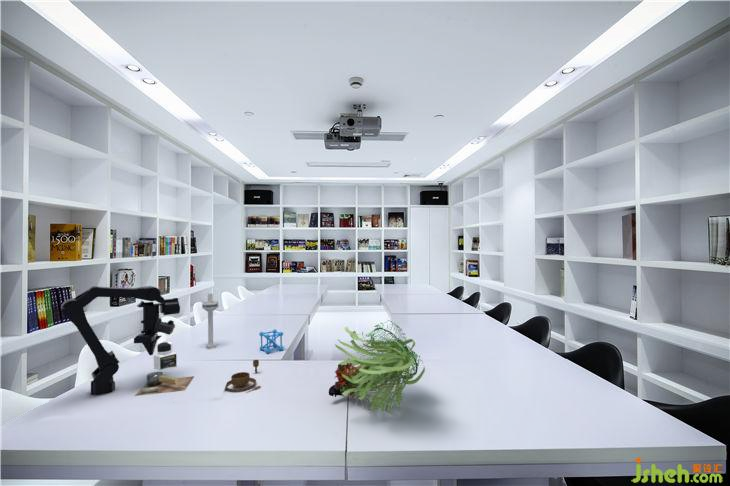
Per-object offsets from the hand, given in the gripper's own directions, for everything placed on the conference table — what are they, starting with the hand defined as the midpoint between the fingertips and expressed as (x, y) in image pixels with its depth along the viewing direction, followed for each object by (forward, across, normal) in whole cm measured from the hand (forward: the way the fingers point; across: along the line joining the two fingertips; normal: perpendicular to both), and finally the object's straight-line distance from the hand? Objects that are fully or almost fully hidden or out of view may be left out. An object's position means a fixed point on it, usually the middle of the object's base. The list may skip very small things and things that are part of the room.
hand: (151, 354), depth 143 cm
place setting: (+12, -10, -39) cm, 42 cm away
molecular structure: (+12, +34, -47) cm, 59 cm away
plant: (+12, -39, -86) cm, 95 cm away
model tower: (+12, +49, -13) cm, 52 cm away
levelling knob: (+10, -8, -7) cm, 15 cm away
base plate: (+12, -8, -8) cm, 16 cm away
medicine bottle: (+12, +18, 0) cm, 22 cm away
